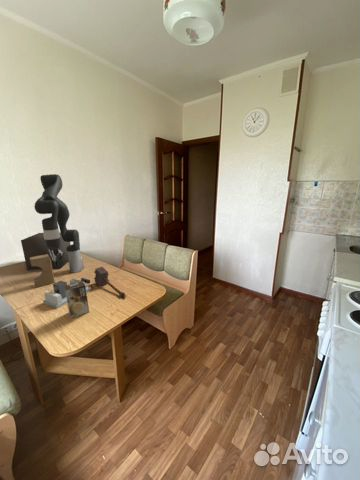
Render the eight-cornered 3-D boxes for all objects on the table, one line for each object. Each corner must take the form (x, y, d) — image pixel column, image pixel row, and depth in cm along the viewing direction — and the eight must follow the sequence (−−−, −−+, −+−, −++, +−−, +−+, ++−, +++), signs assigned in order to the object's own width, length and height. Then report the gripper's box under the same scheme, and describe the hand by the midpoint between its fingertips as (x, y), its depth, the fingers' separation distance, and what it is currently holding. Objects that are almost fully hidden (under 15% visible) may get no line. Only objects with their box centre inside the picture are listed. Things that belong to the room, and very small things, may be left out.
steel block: (63, 294, 122) (60, 280, 120) (68, 295, 120) (66, 282, 118) (55, 298, 118) (52, 284, 116) (61, 299, 116) (58, 285, 114)
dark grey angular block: (44, 259, 185) (39, 232, 178) (72, 258, 187) (68, 232, 181) (27, 270, 161) (20, 240, 154) (60, 268, 163) (55, 239, 157)
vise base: (77, 285, 136) (76, 276, 134) (90, 289, 131) (89, 280, 129) (43, 303, 115) (41, 293, 114) (57, 308, 111) (55, 297, 109)
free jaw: (80, 282, 137) (80, 275, 136) (92, 285, 133) (91, 278, 131) (69, 287, 130) (68, 280, 128) (81, 291, 125) (80, 284, 124)
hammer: (103, 277, 144) (103, 265, 140) (129, 302, 125) (130, 289, 121) (93, 281, 139) (93, 268, 135) (120, 307, 120) (120, 293, 117)
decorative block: (35, 287, 133) (29, 259, 127) (34, 284, 137) (29, 257, 132) (55, 282, 140) (50, 255, 134) (53, 280, 144) (48, 253, 139)
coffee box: (86, 306, 112) (83, 280, 108) (89, 312, 107) (85, 285, 103) (68, 312, 107) (64, 285, 103) (70, 318, 102) (65, 290, 98)
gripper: (66, 237, 110) (71, 266, 115) (51, 234, 116) (56, 262, 120) (53, 240, 104) (58, 271, 108) (37, 237, 109) (43, 266, 114)
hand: (57, 266), depth 114 cm, fingers closed
